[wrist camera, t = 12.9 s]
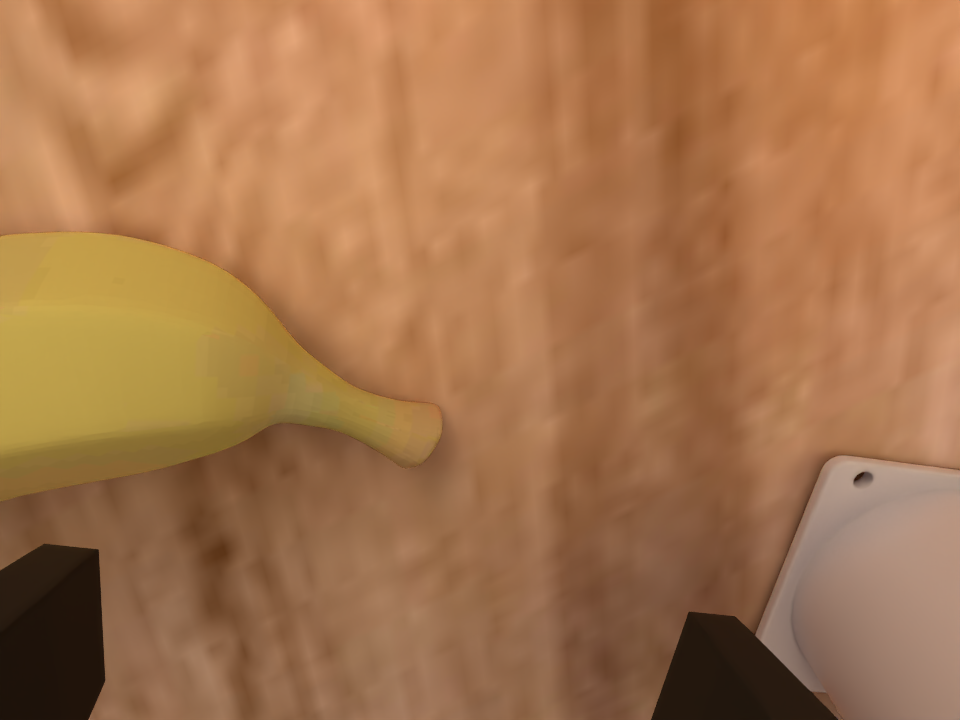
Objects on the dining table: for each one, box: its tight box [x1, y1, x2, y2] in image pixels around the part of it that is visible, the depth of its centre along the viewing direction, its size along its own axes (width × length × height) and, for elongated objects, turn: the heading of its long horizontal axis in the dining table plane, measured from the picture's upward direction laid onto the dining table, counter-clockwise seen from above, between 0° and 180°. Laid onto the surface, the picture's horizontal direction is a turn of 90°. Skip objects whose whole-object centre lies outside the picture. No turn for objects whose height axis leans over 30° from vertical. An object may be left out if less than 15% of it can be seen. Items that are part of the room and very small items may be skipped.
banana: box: [0, 232, 442, 502], centre depth 17 cm, size 14×6×20 cm
